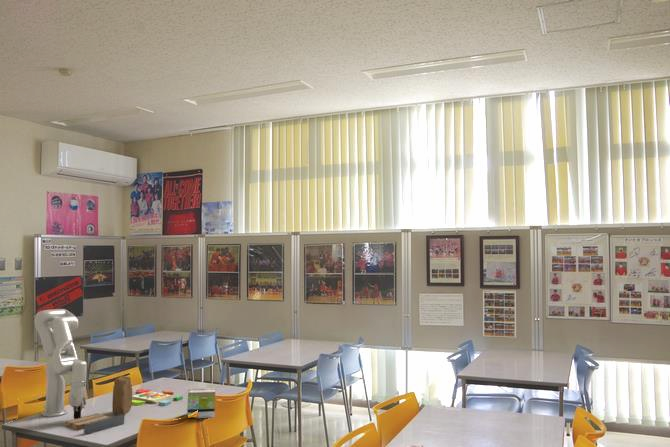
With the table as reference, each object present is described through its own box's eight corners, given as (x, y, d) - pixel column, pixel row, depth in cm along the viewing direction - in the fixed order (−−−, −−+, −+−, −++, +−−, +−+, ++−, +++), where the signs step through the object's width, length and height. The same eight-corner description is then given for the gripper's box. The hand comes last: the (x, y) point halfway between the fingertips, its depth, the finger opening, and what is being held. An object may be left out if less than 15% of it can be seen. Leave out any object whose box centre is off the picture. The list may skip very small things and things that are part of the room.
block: (121, 415, 307) (123, 379, 309) (110, 414, 309) (112, 378, 311) (133, 410, 318) (135, 375, 319) (122, 409, 320) (124, 375, 321)
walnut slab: (66, 426, 287) (66, 421, 287) (97, 419, 302) (97, 413, 302) (78, 431, 280) (78, 425, 281) (110, 422, 295) (110, 417, 295)
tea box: (187, 419, 302) (188, 392, 303) (187, 414, 312) (188, 388, 313) (214, 417, 306) (215, 391, 307) (213, 412, 316) (214, 387, 317)
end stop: (83, 433, 275) (84, 423, 276) (121, 422, 294) (121, 413, 294) (86, 434, 274) (87, 424, 274) (124, 423, 292) (124, 414, 293)
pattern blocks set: (192, 395, 356) (192, 390, 356) (163, 408, 324) (164, 403, 324) (141, 391, 366) (141, 386, 366) (108, 403, 333) (109, 398, 334)
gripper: (64, 383, 299) (62, 417, 298) (80, 387, 291) (78, 422, 290) (76, 381, 305) (75, 414, 304) (93, 384, 297) (91, 418, 296)
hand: (77, 418), depth 297 cm, fingers closed
